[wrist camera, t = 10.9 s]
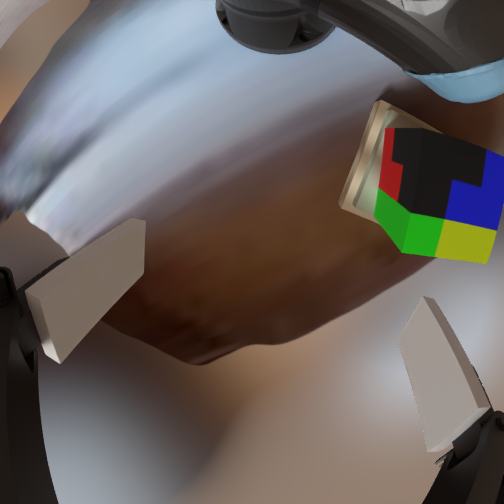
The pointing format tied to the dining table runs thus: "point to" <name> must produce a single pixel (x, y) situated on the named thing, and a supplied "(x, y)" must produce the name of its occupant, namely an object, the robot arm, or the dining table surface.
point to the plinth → (366, 154)
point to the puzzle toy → (439, 194)
